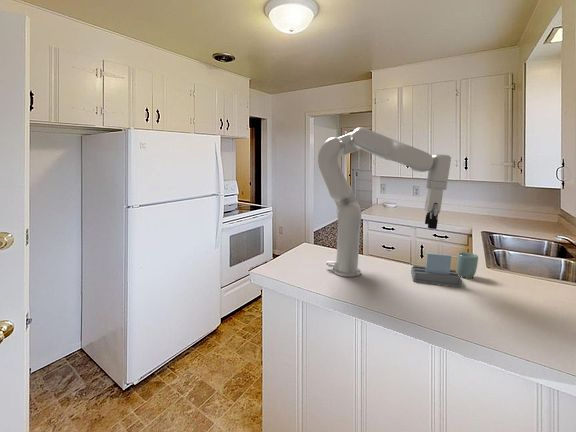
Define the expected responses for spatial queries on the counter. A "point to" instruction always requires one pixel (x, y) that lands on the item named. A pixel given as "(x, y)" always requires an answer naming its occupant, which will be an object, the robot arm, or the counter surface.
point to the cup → (467, 264)
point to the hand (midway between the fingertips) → (430, 226)
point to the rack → (435, 277)
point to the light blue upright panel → (438, 263)
